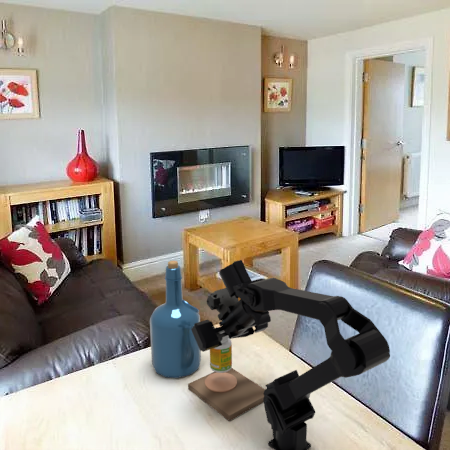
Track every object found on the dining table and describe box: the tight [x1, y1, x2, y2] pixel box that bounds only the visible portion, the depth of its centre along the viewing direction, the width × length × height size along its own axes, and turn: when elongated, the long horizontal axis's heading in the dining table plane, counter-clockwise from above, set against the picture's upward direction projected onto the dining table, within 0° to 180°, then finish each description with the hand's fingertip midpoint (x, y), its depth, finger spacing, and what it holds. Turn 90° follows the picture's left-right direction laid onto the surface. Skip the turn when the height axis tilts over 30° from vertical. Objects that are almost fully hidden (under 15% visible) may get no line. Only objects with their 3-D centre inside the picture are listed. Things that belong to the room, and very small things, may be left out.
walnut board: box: [187, 368, 266, 422], centre depth 113 cm, size 16×13×2 cm
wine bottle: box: [149, 260, 202, 379], centre depth 122 cm, size 14×13×30 cm
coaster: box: [205, 372, 237, 392], centre depth 115 cm, size 8×8×1 cm
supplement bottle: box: [209, 332, 233, 373], centre depth 113 cm, size 5×5×10 cm
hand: (217, 340), depth 113 cm, fingers closed on supplement bottle, 5 cm apart
